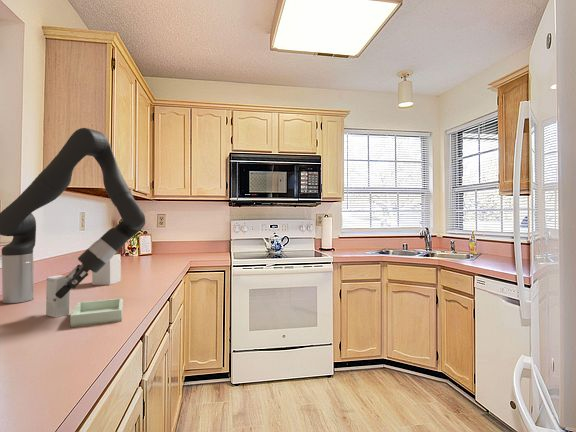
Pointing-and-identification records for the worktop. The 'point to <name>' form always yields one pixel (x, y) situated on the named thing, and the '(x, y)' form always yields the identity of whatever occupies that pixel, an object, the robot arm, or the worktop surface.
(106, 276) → the soap bottle
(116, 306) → the tray
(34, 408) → the worktop surface
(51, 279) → the skincare box
